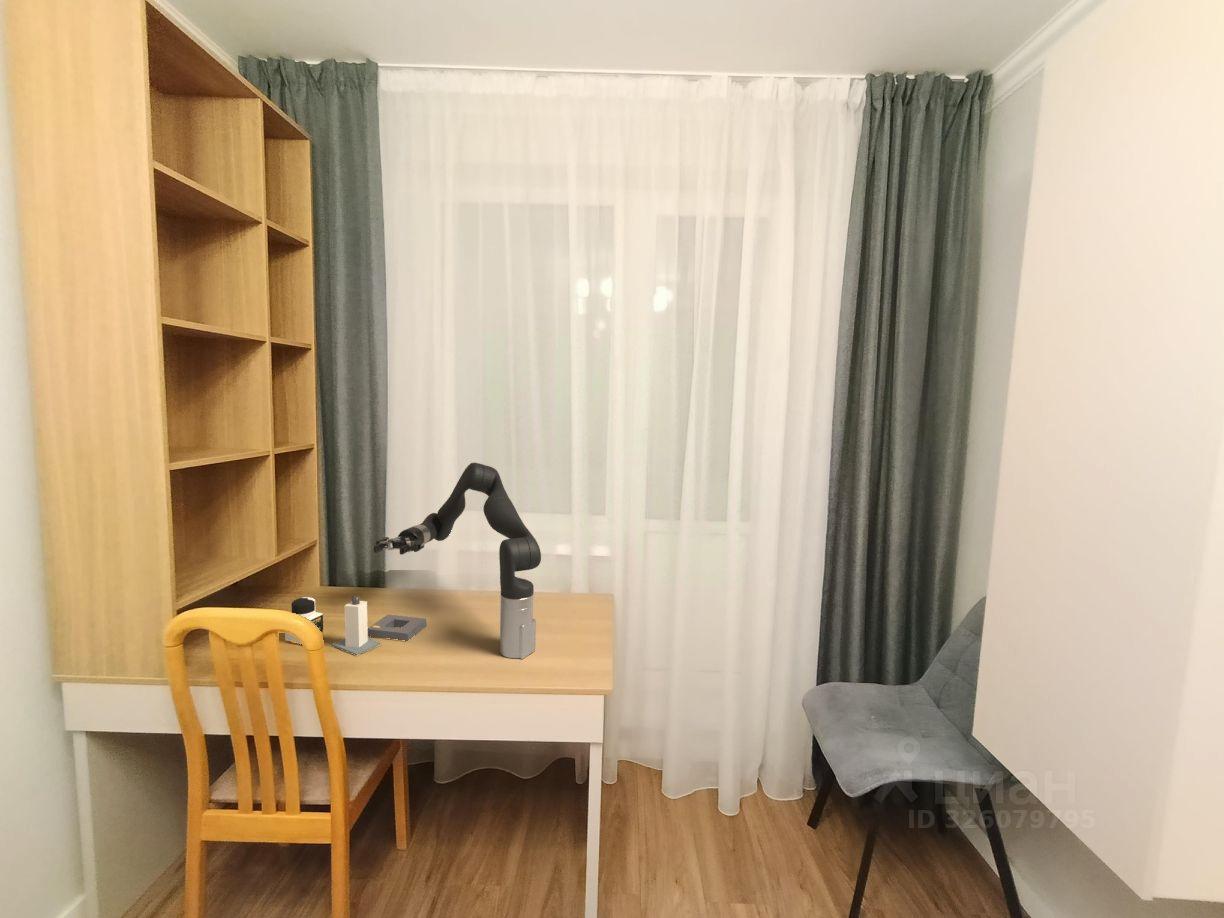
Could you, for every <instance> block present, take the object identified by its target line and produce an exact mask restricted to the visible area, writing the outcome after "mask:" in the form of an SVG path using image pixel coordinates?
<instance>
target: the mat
mask: <svg viewBox="0 0 1224 918" xmlns="http://www.w3.org/2000/svg"><path fill="white" fill-rule="evenodd" d="M380 644H381V645H382V642H380V641H377V640H375V639H373V638H370V637H368V641H367V642H366V643H365V644H363V645H362V646H361V647H359V648H358V647H349V646H346V644H345V638H343V639H341V640H337V641H335V642H333V643H332V644H331V646H332V647H333V646H334V647H333V648H336V647H338V648H340V649H339V650H341V649H343V650H345V651H348V652H350V653H353V654H355V655H358V654H360V653H362V652H365V651H367V650H369V649H371V648H374V647H376V646H378V645H380ZM378 647H379V646H378ZM338 648H337V649H338ZM376 648H377V647H376ZM374 649H375V648H374ZM343 650H342V651H343ZM345 651H344V652H345ZM369 651H370V650H369ZM348 652H347V653H348ZM367 652H368V651H367ZM350 653H349V654H350ZM365 653H366V652H365ZM353 654H352V655H353ZM355 655H354V656H355ZM358 656H359V655H358Z"/></svg>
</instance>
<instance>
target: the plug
mask: <svg viewBox="0 0 1224 918" xmlns="http://www.w3.org/2000/svg"><path fill="white" fill-rule="evenodd" d="M360 597H361V596H360V595H353V596H351V601H349V602H348V603H347V604H345V605H344V634H345V636H344V637H345V638H344V639H345V644H346V646H349V647H358V648H359V647H361V646H362V645H363V644H365V643H366V642H367V641H368V638H369V637H368V628H369V627H368V601H367V600H366V601H365V600H361V599H360Z"/></svg>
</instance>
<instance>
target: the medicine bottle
mask: <svg viewBox="0 0 1224 918" xmlns="http://www.w3.org/2000/svg"><path fill="white" fill-rule="evenodd" d="M292 613H296V614H299V615H301V616H303V617H306V618H307V619H309V620H311V621H312V622H313V623H314V624H315V625H316V626H317V627H318V628H319V630H320V631H321V632H322V634H323V635H324V614H323V612H318V611H316V599H315V598H313V597H307V596H304V597H303V596H302V597H299V598H297V599H295V600H293V601H292V602H291V614H292ZM287 639H288V640H293V641H295V640H296V642H298V643H299V644H300V642H299V641H298V639H297V638H295V637H294V636H292V635H290V634H287V633H285V632H284V640H287ZM299 644H298V645H299ZM300 646H302V645H301V644H300Z"/></svg>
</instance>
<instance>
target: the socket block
mask: <svg viewBox="0 0 1224 918" xmlns="http://www.w3.org/2000/svg"><path fill="white" fill-rule="evenodd" d="M394 626H396V627H394ZM400 627H402V628H400ZM426 627H427V618H425V617H415V616H404V615H398V614H386V615H385V616H384V617H382V618H381V619H379V620H378V621H376V622H374V623H373V624H372V625H370V626H369V627H368V636H369V637H368V638H372V637H379V638H378V639H380V638H390V639H398V640H405V641H404V642H406V641H408V640H409V639H410V640H412V639H413V638H414V637H415V636H416V635H418V634H417V633H418V632H419V633H420V632H422V630H424V629H425V628H426ZM414 635H415V636H414ZM370 636H371V637H370ZM413 636H414V637H413ZM412 637H413V638H412ZM411 638H412V639H411ZM410 640H409V641H410ZM409 641H408V642H409Z"/></svg>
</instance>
